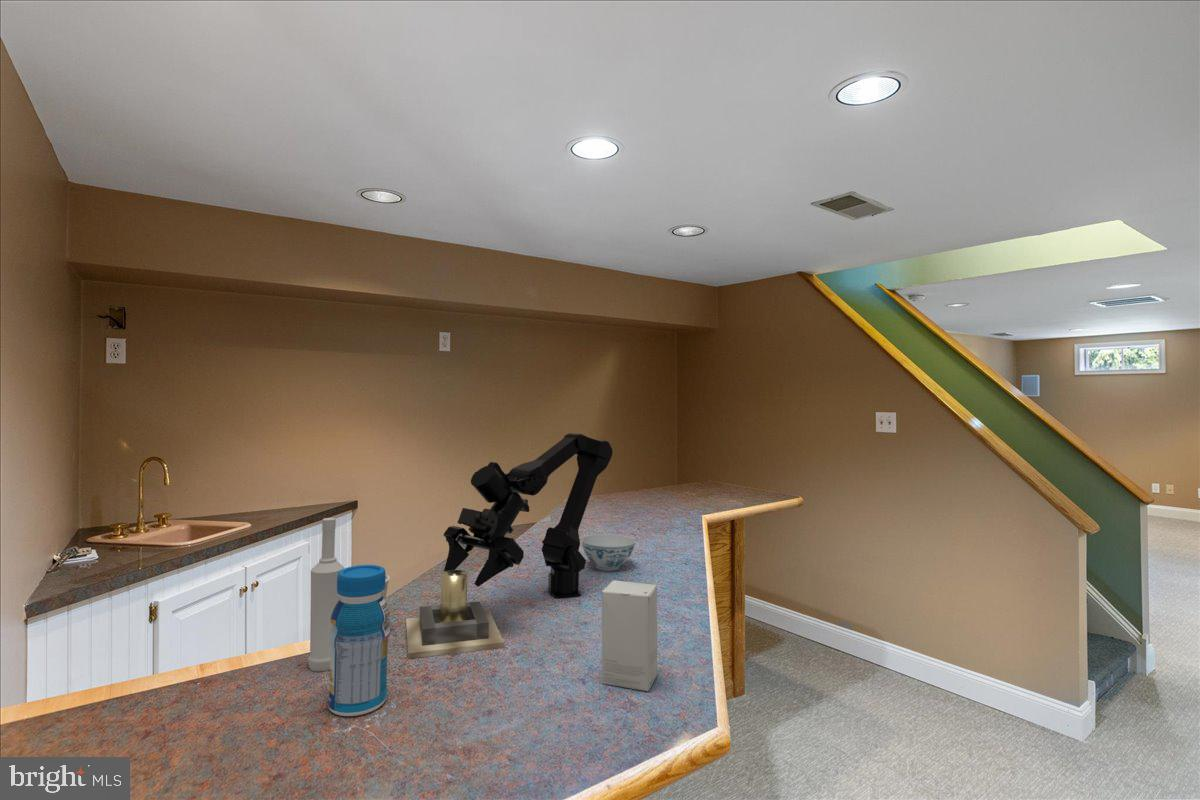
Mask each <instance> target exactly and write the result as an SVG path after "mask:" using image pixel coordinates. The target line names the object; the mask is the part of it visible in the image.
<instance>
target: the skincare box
mask: <svg viewBox="0 0 1200 800" xmlns="http://www.w3.org/2000/svg"><path fill="white" fill-rule="evenodd" d="M601 665H602V666H601V674H602V675H601V683H602V684H603V685H610V686H615V687H619V688H620V687H621V688H626V689H633V690H639V691H644V692H649V691H650V690H651V687H652V685H653V684H654V683H655V680H656V677H657V675H658V585H657V584H650V583H641V582H634V581H633V582H631V581H623V580H622V581H621V580H616V579H615V580H612V581H611V582H610V583H609V584H608V585H607V586H606V587H605V588H604V589H603V590H601Z"/></svg>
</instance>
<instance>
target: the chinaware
mask: <svg viewBox="0 0 1200 800" xmlns="http://www.w3.org/2000/svg"><path fill="white" fill-rule="evenodd" d="M635 544H636V540H635V539H634V538H632V537H629V536H627V535H621V534H616V533H613V534H611V533H599V534H598V533H597V534H590V535H586V536H583V537H582V538H581V545H582V549H583V552H584V553H585V556H586V557H587V558H588V560H589V561H590V562H591V563H592V564H594V565H595V569H598V571H599V570H600V571H604V572H605V571H606V572H612V571H618V570H619V569H620V568H621V565H623V564H624V563H625V562H627V560H628V559H629V558H630V557H631V556H632V553H633V551H634V549H635Z"/></svg>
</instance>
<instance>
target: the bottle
mask: <svg viewBox="0 0 1200 800" xmlns="http://www.w3.org/2000/svg"><path fill="white" fill-rule="evenodd" d="M336 521H337V520H336V518H335V517H324V518H323V519H322V525H321V527H322V529H321V531H322V535H321V536H322V537H321V542H322V543H321V557H320V558H319V559H318V560H319V561H318V562H317V563H316V565H314V566H313V567H312V568H311V569H310V613H309V614H310V617H309V618H310V620H309V621H310V623H309V627H310V628H309V630H310V631H309V633H310V636H309V637H310V638H309V639H310V640H309V641H310V642H309V643H310V644H309V646H310V647H309V649H310V650H309V655H308V657H307V663H308V668H309V670H310V671H312V672H326V671H327V672H328V671H330V651H331V646H330V643H329V634H330V631H331V629H332V628H333V625H332V623H331V615H332V612H333V610H334V608H335V606H336V604H337V603H338V601H339V600H340V598H341V597H339V596H338V593H337V576H338V573H339V571H340V570H342V569H344V568H345V566H344V565H342V564H341V563H340V562H338V561H337V557H336V556H335V551H336V550H335V545H336V544H335V542H336V527H337V526H336V524H337V522H336Z"/></svg>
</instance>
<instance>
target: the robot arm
mask: <svg viewBox="0 0 1200 800" xmlns="http://www.w3.org/2000/svg"><path fill="white" fill-rule="evenodd" d="M613 451H614V450H613V448H612V446H611V444H610V443H609V441H607V440H601V439H600V440H599V439H595V438H591V437H588V436H586V435H584V434H582V433H571V432H569V433H567V434H565V435H564V437H563V438H562V439H561V440H559V441H558V442H557V443H555V444H554V445H553V446H551V447H550V448H549V449H548V450H546V451H545V452H544V453H541V454H540V455H539V456H538V457H537V458H535V459H534V460H531V461H527V462H524V463H520V464H519V465H517V466H515V467H513V468H512V469H510V470H509V472H508V473H505V472H504V471H503V470H502V468H501V466H500V465H499V464H498V463H499V462H494V461H489V463H488V465H485V466H483V467H481V468H479V469H478V470H477V471H475V472H474V473H473V474H472V476H471V478H470V484H471V485H472V487H473V488H474V489H475V490H476V491H477V493H478V494H479V495H480V496H481V497H482V498H483V499H484V500H485V501H486V502H487V503H488V504H492V503H493V504H492V505H491V507H490V508H483V509H482V511H479V510H476V509H471V508H465V507H462V508H461V512H460V514H459V518H458V520H457V524H459V525H464V526H467V527H469V528H468V530H469V532H470V533H471V534H473V535H471V534H470V533H469V532H468V531H467V530H466V529H465V528H464V527H461V526H455V525H451V526H448V527H447V529H446V530H445V532H444V533H443V537H444V538H445V541H446V542H447V543H448V554H447V559H446V561H445V564H444V568H443V572H445V571H449V570H457V568H458V567H460V565H461V564H462V563H464V561H465V560H466V559H467V558H468V557H469V556H470V554H469V552H471V551H472V550H473V548H479V549H483V550H488V557H487V559H486V560H485V563H484V565H483V567H482V568H481V569H480V571H479V573H478V575H477V577H476V579H475V581H474V585H475V587H481V585H483V584H484V583H486V582H488V581H489V580H490V579H492V578H493V577H495V576H497V575H498V574H500V573H501V572H503V571H505V570H507V569H509V568H513V567H514V566H515V565H517V566H520V564H521V562H522V561H523V559H524V556H525V553H524V551H525V550H523V549H522V547H521V546H520V545H519V543H518V542H517V541H516V540H515V538H512V537H508V536H506V534H510V535H511V534H512V533H513V531H514V528H513V527H512V525H513V523H514V521H515V520H516V518H517V516H518V515H519V514H520V512H523V513H529V512H530V506H529V502H528V501H529V500H528V499H526V498H525V499H524V498H523V497H522V496H521V495H526V496H532V497H533V496H536V495H537V494H539V493H540V492H541V491H542V489H543V488H544V487H545V486H547V483H548V480H549V477H550V476H551V474H553V473H554V472H555V471H556V470H558V469H559V468H561V466H563V465H564V464H565V463H566V462H568V461H569V460H570V459H572V457H573V456H575V455H576V463H577V468H578V469H577V473H576V476H575V478H574V482H573V483H572V487H571V489H570V493H569V495H568V498H567V500H566V504H565V506H564V509H563V511H562V514H561V517H560V520H559V522H558V524H556V525H555V527H550V526H549V527H548V528H547V529H546V532H545V536H544V537H543V540H542V541H541V544H542V546H541V553H542V557H543V560H544V563H545V566H546V567H550V572H549V573H548V576H547V577H548V584H547V586H548V587H547V590H548V591H549V592H550V594H551V595H552V596H553V597H554V598H555V599H557V598H558V599H559V598H561V599H562V598H569V597H579V596H581V595H582V594H581V592H580V591H579V590H580V589H579V587H580V586H579V584H580V583H579V582H580V580H579V579H580V572H582V570H584V569H585V566H586V562H587V559H586V558H585V556H583V555H582V553H581V552H580V545H581V539H580V534H579V529H580V526H581V523H582V520H583V517H584V515H585V511H586V510H587V506H588V504H589V501H590V498H591V496H592V495H591V494H592V492H593V488H594V485H595V483H596V480H597V478H598V476H599V475H600V474H601V473H602V472H603V471H605V470H606V469H607V467H608V466H609V463H610V461H611V460H612V456H613Z"/></svg>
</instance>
